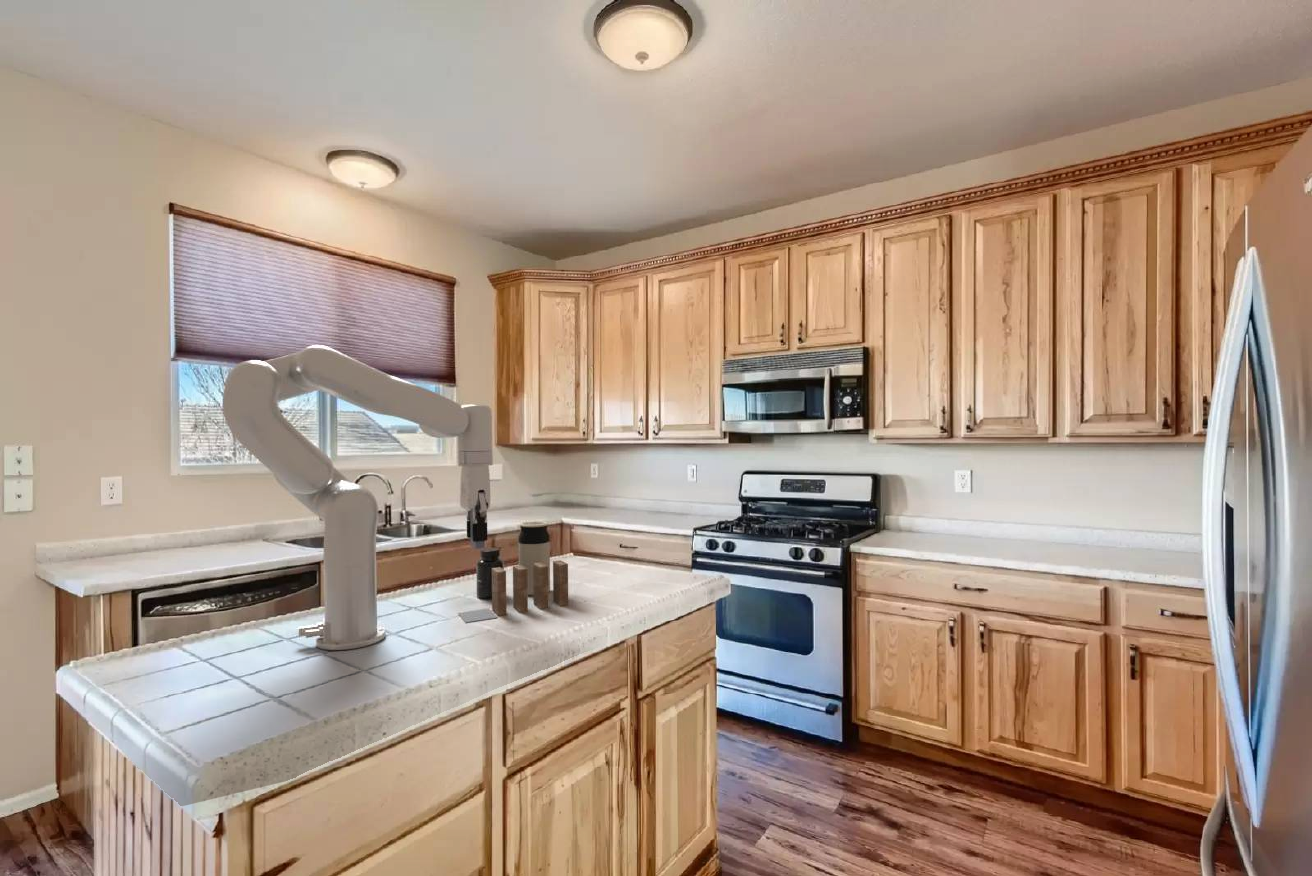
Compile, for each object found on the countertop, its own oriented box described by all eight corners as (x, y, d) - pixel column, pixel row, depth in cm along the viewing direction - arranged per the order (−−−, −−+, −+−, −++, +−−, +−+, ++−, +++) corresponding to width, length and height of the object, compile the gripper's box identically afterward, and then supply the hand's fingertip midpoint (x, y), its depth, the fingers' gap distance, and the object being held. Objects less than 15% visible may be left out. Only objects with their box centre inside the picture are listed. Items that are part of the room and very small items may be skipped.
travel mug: (542, 596, 159) (541, 525, 158) (513, 595, 160) (512, 525, 160) (554, 589, 166) (554, 521, 166) (527, 587, 168) (526, 520, 168)
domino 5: (560, 606, 150) (560, 564, 149) (553, 601, 154) (552, 561, 154) (568, 605, 150) (567, 563, 150) (561, 600, 155) (560, 560, 155)
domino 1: (475, 549, 140) (474, 504, 140) (470, 545, 144) (469, 502, 144) (484, 548, 141) (483, 503, 141) (479, 544, 145) (478, 501, 145)
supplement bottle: (471, 598, 158) (470, 551, 158) (486, 591, 164) (485, 546, 164) (495, 600, 156) (494, 552, 156) (509, 593, 162) (508, 547, 162)
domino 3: (519, 612, 145) (518, 569, 145) (513, 607, 149) (512, 565, 149) (527, 611, 146) (527, 568, 146) (521, 606, 150) (520, 564, 150)
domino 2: (497, 616, 142) (497, 572, 142) (492, 610, 147) (491, 568, 147) (506, 614, 143) (505, 571, 143) (500, 609, 148) (500, 567, 147)
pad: (465, 622, 137) (465, 622, 137) (458, 613, 144) (458, 612, 144) (497, 618, 141) (497, 617, 141) (488, 609, 148) (488, 608, 148)
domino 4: (540, 609, 147) (539, 567, 147) (533, 604, 151) (533, 563, 151) (548, 608, 148) (548, 566, 148) (541, 603, 152) (541, 562, 152)
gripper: (451, 458, 148) (452, 535, 148) (466, 461, 133) (468, 546, 133) (483, 457, 151) (484, 532, 152) (502, 459, 137) (503, 543, 137)
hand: (477, 538), depth 142 cm, fingers closed on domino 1, 4 cm apart
